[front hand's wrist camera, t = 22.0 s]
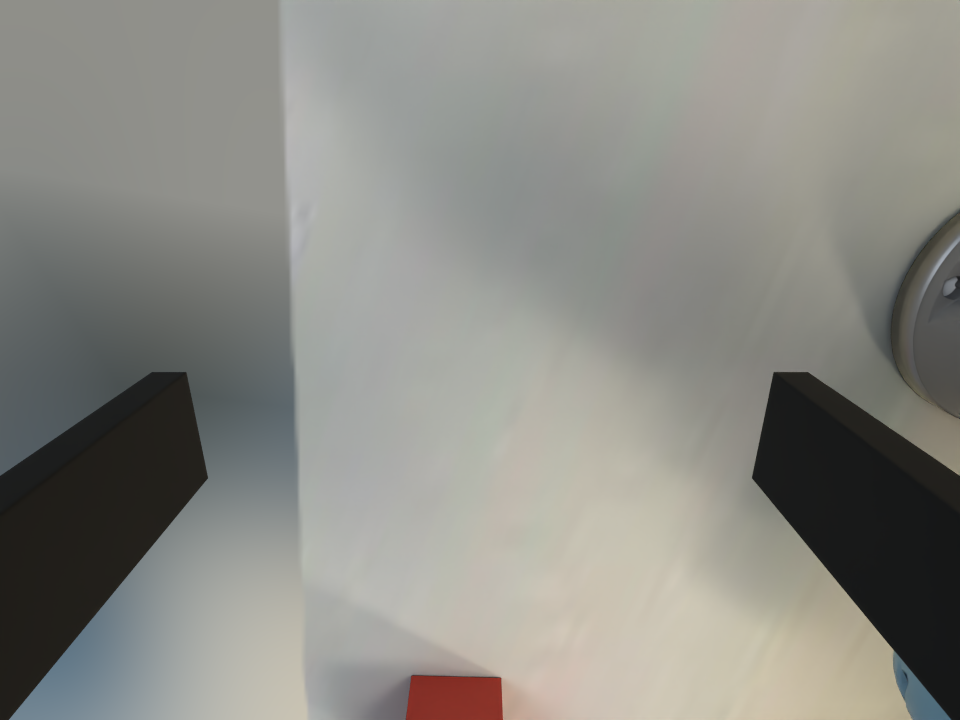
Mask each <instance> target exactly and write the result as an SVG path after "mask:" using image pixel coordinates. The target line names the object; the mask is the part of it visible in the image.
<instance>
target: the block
mask: <svg viewBox="0 0 960 720" xmlns="http://www.w3.org/2000/svg"><path fill="white" fill-rule="evenodd" d="M406 720H503V712H502V688H501V678H482V677H445V676H411V683H410V691H409V699H408V707H407V715H406Z"/></svg>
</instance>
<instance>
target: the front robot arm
mask: <svg viewBox="0 0 960 720" xmlns="http://www.w3.org/2000/svg"><path fill="white" fill-rule="evenodd" d="M891 343H892V349H893V355H894V358H895V362H896V364H897V367H898V369H899V371H900V373H901V375H902V376H903V378H904V380H905V381H906V382H907V384H908V385H909V386H910V387H911V388H912V389H913V390H914V391H915V392H916V393H917V394H918V395H919V396H921V397H922V398H923V399H925V400H926V401H928V402H930V403H931V404H933V405H935V406H937V407H938V408H940V409H942V410H944V411H946V412H947V413H949V414H951V415H953V416H954V417H956V418H959V419H960V213H958V214H957V215H956V216H955V217H953V218H952V219H951V220H950V221H949V222H948V223H947V224H946V225H944V226H943V227H942V228H941V229H940V230H939V231H938V232H937V233H936V235H935V236H934V237H933V238H932V239H931V240H930V241H929V242H928V244H927V245H926V246H925V247H924V249H923V250H922V251H921V253H920V254H919V256H918V257H917V258H916V260H915V261H914V263H913V265H912V266H911V268H910V270H909V272H908V273H907V275H906V277H905V279H904V282H903V284H902V286H901V288H900V291H899V294H898V296H897V299H896V303H895V307H894V311H893V317H892V325H891ZM207 479H208V476H207V471H206V466H205V461H204V456H203V451H202V446H201V442H200V437H199V432H198V427H197V422H196V417H195V413H194V407H193V403H192V398H191V393H190V388H189V383H188V378H187V373H186V372H152V373H150V374H149V375H147V376H146V377H144V378H143V379H141V380H140V381H138V382H137V383H136V384H134V385H133V386H131V387H130V388H128V389H127V390H125V391H124V392H122V393H121V394H119V395H118V396H117V397H115V398H114V399H112V400H111V401H109V402H108V403H106V404H105V405H103V406H102V407H100V408H99V409H98V410H96V411H95V412H93V413H92V414H90V415H89V416H87V417H86V418H84V419H83V420H81V421H80V422H78V423H77V424H76V425H74V426H73V427H71V428H70V429H68V430H67V431H65V432H64V433H62V434H61V435H59V436H58V437H57V438H55V439H54V440H52V441H51V442H49V443H48V444H46V445H45V446H43V447H42V448H40V449H39V450H38V451H36V452H35V453H33V454H32V455H30V456H29V457H27V458H26V459H24V460H23V461H21V462H20V463H18V464H17V465H16V466H14V467H13V468H11V469H10V470H8V471H7V472H5V473H4V474H2V475H1V476H0V720H9V719H10V718H11V716H12V715H13V714H14V713H15V712H16V710H17V709H18V708H19V707H20V705H21V704H22V703H23V702H24V701H25V699H26V698H27V697H28V696H29V695H30V693H31V692H32V691H33V690H34V689H35V687H36V686H37V685H38V684H39V682H40V681H41V680H42V679H43V678H44V676H45V675H46V674H47V673H48V672H49V670H50V669H51V668H52V667H53V665H54V664H55V663H56V662H57V661H58V659H59V658H60V657H61V656H62V655H63V653H64V652H65V651H66V650H67V648H68V647H69V646H70V645H71V644H72V642H73V641H74V640H75V639H76V637H77V636H78V635H79V634H80V633H81V631H82V630H83V629H84V628H85V627H86V625H87V624H88V623H89V622H90V621H91V619H92V618H93V617H94V616H95V615H96V613H97V612H98V611H99V610H100V608H101V607H102V606H103V605H104V604H105V602H106V601H107V600H108V599H109V598H110V596H111V595H112V594H113V593H114V591H115V590H116V589H117V588H118V587H119V585H120V584H121V583H122V582H123V581H124V579H125V578H126V577H127V576H128V574H129V573H130V572H131V571H132V570H133V568H134V567H135V566H136V565H137V563H138V562H139V561H140V560H141V559H142V558H143V556H144V555H145V554H146V553H147V551H148V550H149V549H150V548H151V547H152V545H153V544H154V543H155V542H156V541H157V539H158V538H159V537H160V536H161V534H162V533H163V532H164V531H165V530H166V528H167V527H168V526H169V525H170V523H171V522H172V521H173V520H174V519H175V517H176V516H177V515H178V514H179V513H180V511H181V510H182V509H183V508H184V507H185V505H186V504H187V503H188V502H189V500H190V499H191V498H192V497H193V496H194V494H195V493H196V492H197V491H198V489H199V488H200V487H201V486H202V485H203V484H204V482H205V481H206V480H207ZM752 479H753V480H754V481H755V482H756V484H757V485H758V486H759V487H760V488H761V490H762V491H763V492H764V493H765V494H766V496H767V497H768V498H769V499H770V500H771V502H772V503H773V504H774V505H775V507H776V508H777V509H778V510H779V511H780V513H781V514H782V515H783V516H784V517H785V519H786V520H787V521H788V522H789V524H790V525H791V526H792V527H793V528H794V530H795V531H796V532H797V533H798V534H799V536H800V537H801V538H802V539H803V541H804V542H805V543H806V544H807V545H808V547H809V548H810V549H811V550H812V551H813V553H814V554H815V555H816V556H817V558H818V559H819V560H820V561H821V562H822V564H823V565H824V566H825V567H826V568H827V570H828V571H829V572H830V573H831V574H832V576H833V577H834V578H835V579H836V581H837V582H838V583H839V584H840V585H841V587H842V588H843V589H844V590H845V591H846V593H847V594H848V595H849V596H850V598H851V599H852V600H853V601H854V602H855V604H856V605H857V606H858V607H859V608H860V610H861V611H862V612H863V613H864V615H865V616H866V617H867V618H868V619H869V621H870V622H871V623H872V624H873V625H874V627H875V628H876V629H877V630H878V631H879V633H880V634H881V635H882V636H883V638H884V639H885V640H886V641H887V642H888V644H889V645H890V646H891V647H892V648H893V650H894V652H893V667H894V673H895V677H896V682H897V685H898V687H899V690H900V692H901V694H902V696H903V698H904V700H905V703H906V707H907V709H908V711H909V713H910V715H911V717H912V719H913V720H960V476H959V475H958V474H956V473H955V472H953V471H952V470H950V469H949V468H947V467H946V466H944V465H943V464H942V463H940V462H939V461H937V460H936V459H934V458H933V457H931V456H930V455H928V454H927V453H925V452H924V451H922V450H921V449H920V448H918V447H917V446H915V445H914V444H912V443H911V442H909V441H908V440H906V439H905V438H903V437H902V436H901V435H899V434H898V433H896V432H895V431H893V430H892V429H890V428H889V427H887V426H886V425H884V424H883V423H882V422H880V421H879V420H877V419H876V418H874V417H873V416H871V415H870V414H868V413H867V412H865V411H864V410H862V409H861V408H860V407H858V406H857V405H855V404H854V403H852V402H851V401H849V400H848V399H846V398H845V397H843V396H842V395H841V394H839V393H838V392H836V391H835V390H833V389H832V388H830V387H829V386H827V385H826V384H824V383H823V382H822V381H820V380H819V379H817V378H816V377H814V376H813V375H811V374H810V373H808V372H774V373H773V378H772V383H771V388H770V393H769V398H768V403H767V407H766V412H765V417H764V422H763V427H762V432H761V437H760V442H759V446H758V451H757V456H756V461H755V466H754V471H753V476H752Z"/></svg>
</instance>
